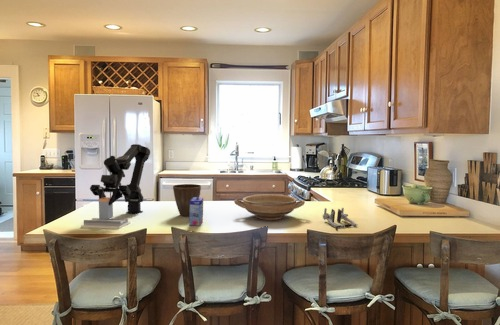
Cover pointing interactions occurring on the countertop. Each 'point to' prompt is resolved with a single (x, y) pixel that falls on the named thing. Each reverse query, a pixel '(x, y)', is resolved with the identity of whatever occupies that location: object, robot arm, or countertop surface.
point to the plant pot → (185, 197)
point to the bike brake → (339, 217)
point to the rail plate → (105, 223)
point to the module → (105, 208)
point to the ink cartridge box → (196, 211)
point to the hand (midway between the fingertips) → (104, 204)
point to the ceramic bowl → (269, 205)
